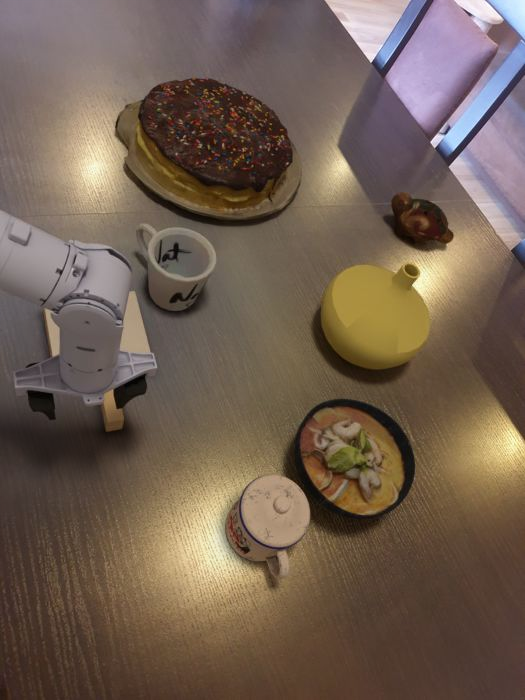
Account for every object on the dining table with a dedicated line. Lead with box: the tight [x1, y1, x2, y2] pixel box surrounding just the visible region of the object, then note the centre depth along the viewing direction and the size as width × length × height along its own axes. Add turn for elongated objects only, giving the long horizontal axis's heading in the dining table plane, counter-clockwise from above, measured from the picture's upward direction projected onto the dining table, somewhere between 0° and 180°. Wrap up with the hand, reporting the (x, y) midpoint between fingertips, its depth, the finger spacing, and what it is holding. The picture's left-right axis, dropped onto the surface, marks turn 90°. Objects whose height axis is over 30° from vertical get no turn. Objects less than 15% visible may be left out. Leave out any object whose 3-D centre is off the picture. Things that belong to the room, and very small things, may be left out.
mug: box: [135, 222, 217, 312], centre depth 89 cm, size 10×15×10 cm
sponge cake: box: [42, 290, 152, 358], centre depth 82 cm, size 13×12×5 cm
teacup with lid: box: [225, 474, 311, 581], centre depth 71 cm, size 12×9×12 cm
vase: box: [320, 261, 431, 370], centre depth 91 cm, size 18×18×19 cm
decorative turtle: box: [390, 192, 455, 246], centre depth 115 cm, size 10×15×8 cm, turn 78°
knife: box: [100, 389, 125, 432], centre depth 80 cm, size 18×2×3 cm, turn 18°
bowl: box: [293, 398, 416, 521], centre depth 80 cm, size 17×17×10 cm
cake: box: [114, 77, 303, 221], centre depth 109 cm, size 37×37×10 cm
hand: (85, 406), depth 67 cm, fingers open, 7 cm apart
